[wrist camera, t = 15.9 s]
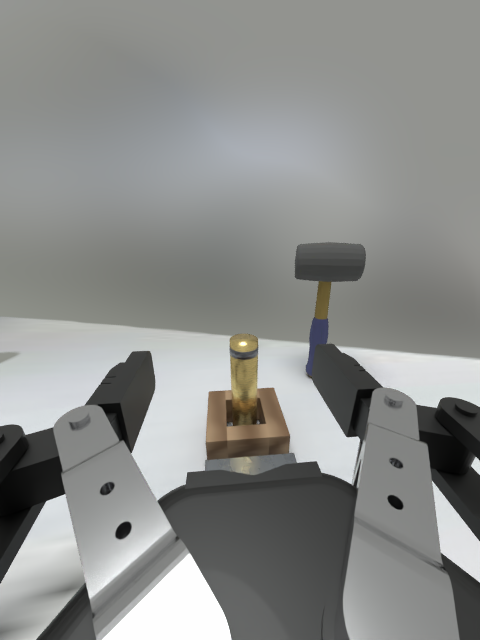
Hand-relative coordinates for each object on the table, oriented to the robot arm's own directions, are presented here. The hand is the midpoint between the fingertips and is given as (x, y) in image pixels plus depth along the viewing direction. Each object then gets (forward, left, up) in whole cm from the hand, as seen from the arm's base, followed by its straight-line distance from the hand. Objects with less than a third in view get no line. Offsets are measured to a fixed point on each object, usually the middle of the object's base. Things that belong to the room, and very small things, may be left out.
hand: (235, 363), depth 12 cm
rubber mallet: (+21, +36, -27) cm, 49 cm away
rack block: (+3, +21, -27) cm, 34 cm away
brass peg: (+3, +21, -27) cm, 34 cm away
